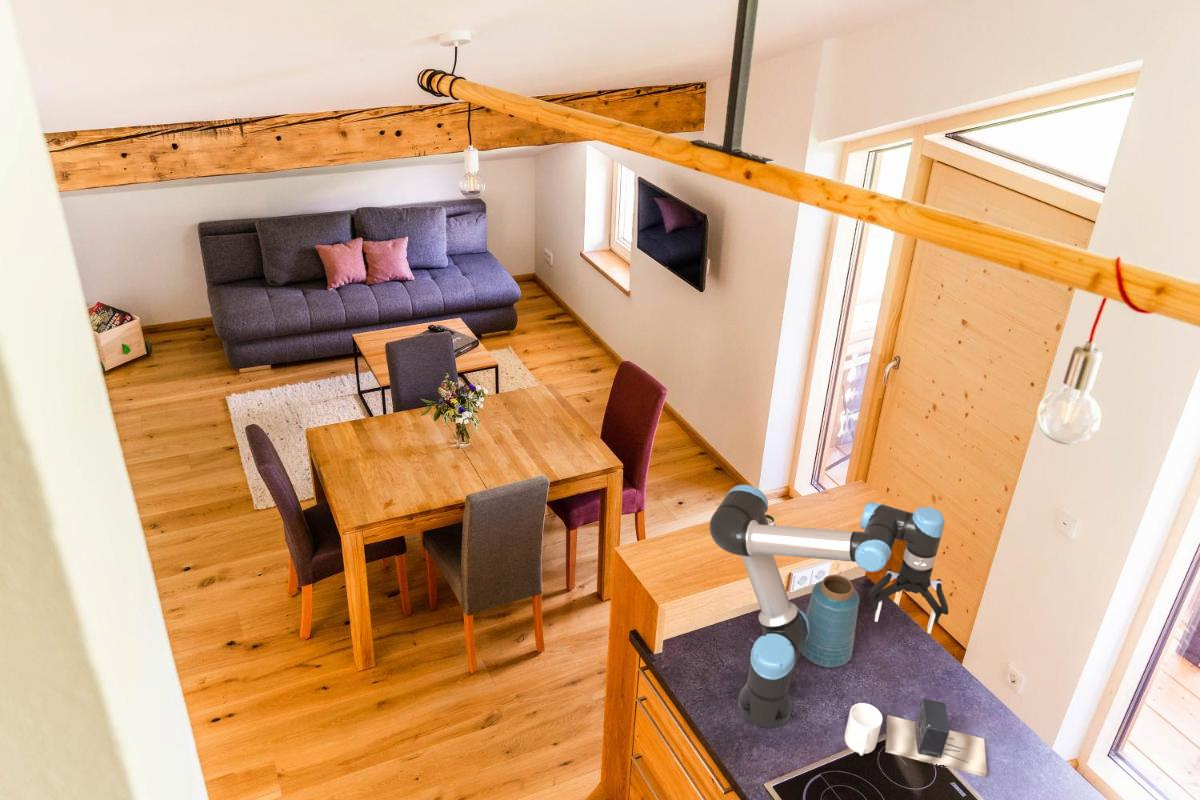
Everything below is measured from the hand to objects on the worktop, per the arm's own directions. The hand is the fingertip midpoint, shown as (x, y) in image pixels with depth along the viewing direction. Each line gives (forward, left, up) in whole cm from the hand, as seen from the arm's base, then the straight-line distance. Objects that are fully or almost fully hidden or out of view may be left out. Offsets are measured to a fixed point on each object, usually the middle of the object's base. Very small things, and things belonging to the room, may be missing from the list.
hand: (902, 624), depth 238 cm
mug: (-5, -14, -35) cm, 38 cm away
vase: (-17, +21, -35) cm, 44 cm away
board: (+15, -7, -35) cm, 38 cm away
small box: (+13, -7, -33) cm, 36 cm away
